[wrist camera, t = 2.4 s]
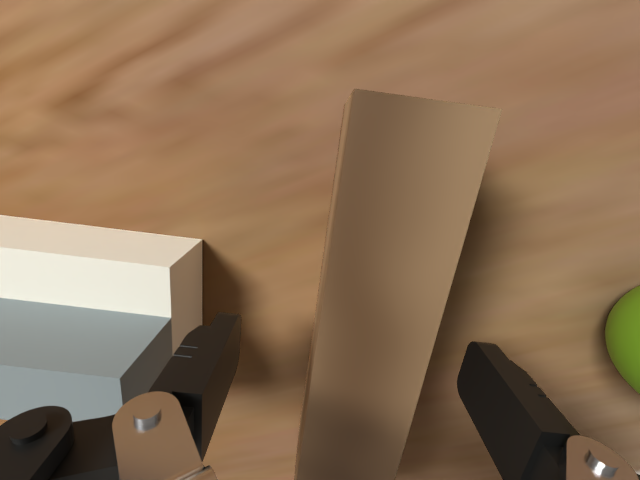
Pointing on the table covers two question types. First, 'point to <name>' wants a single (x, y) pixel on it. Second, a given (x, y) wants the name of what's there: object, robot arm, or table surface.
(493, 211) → the table surface
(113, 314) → the white grey stepped block
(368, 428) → the walnut bar
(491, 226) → the table surface
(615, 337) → the snail figurine
